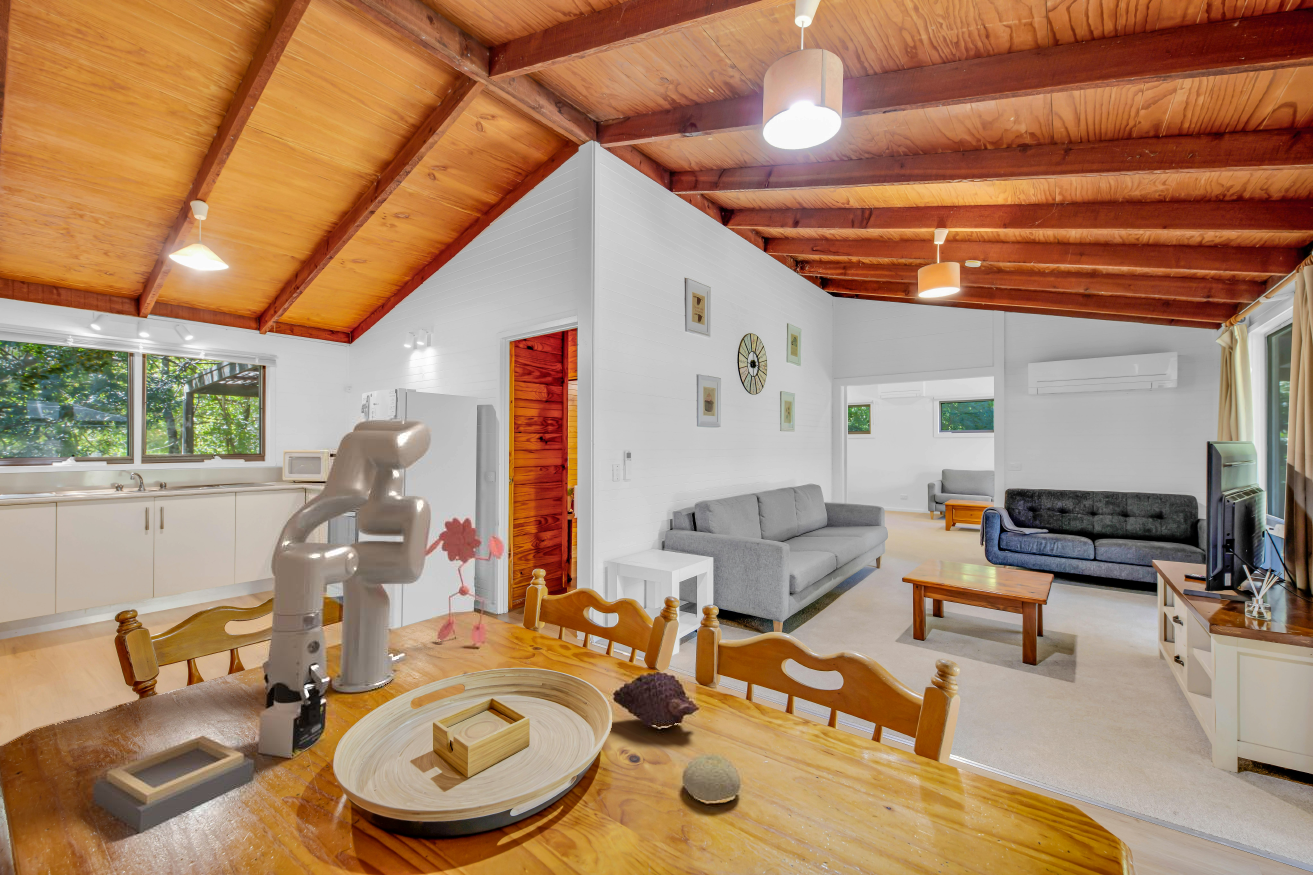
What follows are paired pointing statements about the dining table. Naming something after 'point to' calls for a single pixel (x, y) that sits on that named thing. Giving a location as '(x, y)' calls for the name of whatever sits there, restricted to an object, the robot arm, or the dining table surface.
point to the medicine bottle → (288, 725)
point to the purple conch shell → (655, 699)
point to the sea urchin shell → (711, 778)
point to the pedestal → (171, 782)
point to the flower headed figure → (462, 545)
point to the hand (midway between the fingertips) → (292, 718)
